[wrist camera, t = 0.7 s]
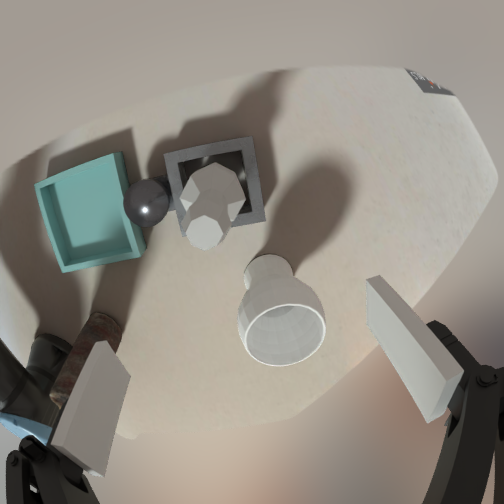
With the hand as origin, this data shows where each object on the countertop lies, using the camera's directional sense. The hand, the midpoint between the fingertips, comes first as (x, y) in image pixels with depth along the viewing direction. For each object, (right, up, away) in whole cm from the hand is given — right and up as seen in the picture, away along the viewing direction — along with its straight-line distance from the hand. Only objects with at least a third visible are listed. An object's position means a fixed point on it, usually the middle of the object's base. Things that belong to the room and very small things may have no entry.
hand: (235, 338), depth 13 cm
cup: (+3, 0, +32) cm, 32 cm away
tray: (-24, +10, +25) cm, 36 cm away
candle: (-26, -10, +33) cm, 44 cm away
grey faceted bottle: (-4, +14, +25) cm, 29 cm away
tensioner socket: (-7, +13, +25) cm, 29 cm away
